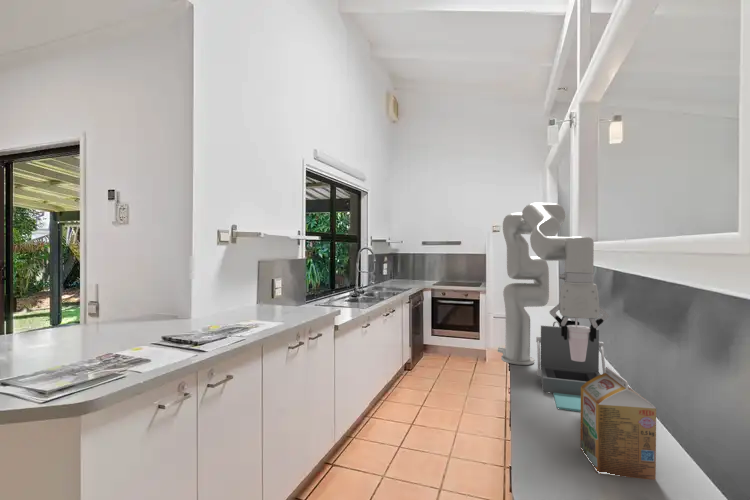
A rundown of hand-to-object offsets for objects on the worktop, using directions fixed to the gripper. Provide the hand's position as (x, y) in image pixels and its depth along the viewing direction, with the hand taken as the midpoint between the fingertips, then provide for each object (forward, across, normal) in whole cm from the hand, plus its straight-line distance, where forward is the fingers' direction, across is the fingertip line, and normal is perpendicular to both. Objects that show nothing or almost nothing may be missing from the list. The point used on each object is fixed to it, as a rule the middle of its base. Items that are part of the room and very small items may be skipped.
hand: (578, 339), depth 117 cm
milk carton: (+19, +3, -33) cm, 39 cm away
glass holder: (+19, +2, +59) cm, 62 cm away
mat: (+19, 0, 0) cm, 19 cm away
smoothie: (+6, 0, 0) cm, 6 cm away
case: (+19, 0, +14) cm, 24 cm away
